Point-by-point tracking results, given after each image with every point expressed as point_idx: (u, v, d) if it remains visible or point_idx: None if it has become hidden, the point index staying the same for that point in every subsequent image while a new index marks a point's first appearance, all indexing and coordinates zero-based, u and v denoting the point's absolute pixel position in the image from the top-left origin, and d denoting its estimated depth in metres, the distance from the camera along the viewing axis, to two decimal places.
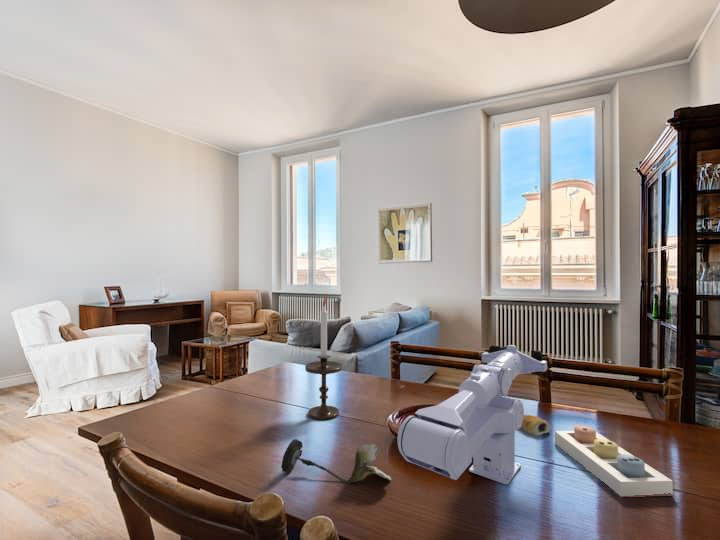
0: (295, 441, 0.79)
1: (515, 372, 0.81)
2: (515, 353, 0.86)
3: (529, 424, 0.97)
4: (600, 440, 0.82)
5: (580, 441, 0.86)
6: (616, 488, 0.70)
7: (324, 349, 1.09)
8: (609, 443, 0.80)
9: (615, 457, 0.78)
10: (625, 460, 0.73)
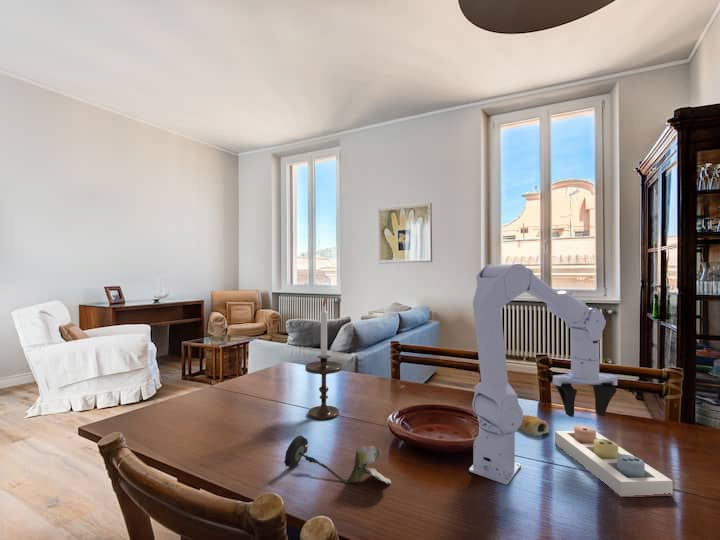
0: (299, 437, 0.81)
1: (595, 351, 0.85)
2: None
3: (528, 424, 0.97)
4: (600, 440, 0.82)
5: (580, 441, 0.86)
6: (616, 488, 0.70)
7: (324, 349, 1.09)
8: (609, 443, 0.80)
9: (615, 457, 0.78)
10: (625, 460, 0.73)
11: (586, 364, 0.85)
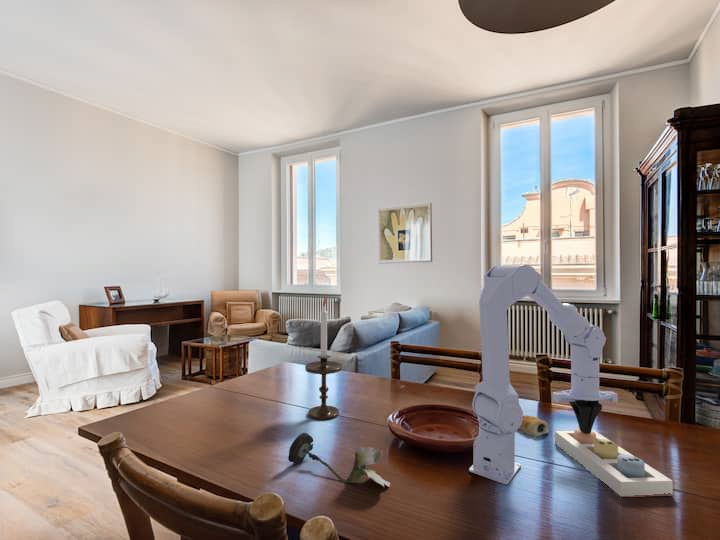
0: (304, 435, 0.82)
1: (595, 369, 0.85)
2: None
3: (528, 425, 0.96)
4: (600, 440, 0.82)
5: None
6: (616, 488, 0.70)
7: (324, 349, 1.09)
8: (609, 443, 0.80)
9: (615, 457, 0.78)
10: (625, 460, 0.73)
11: (586, 381, 0.85)
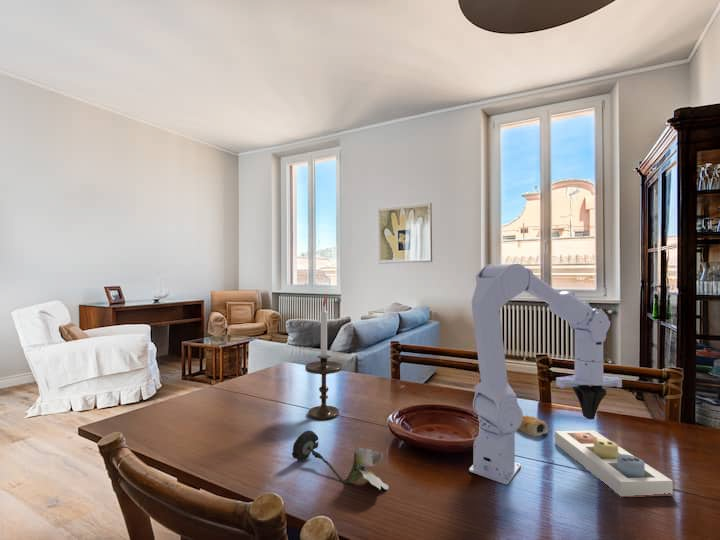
0: (308, 432, 0.83)
1: (599, 353, 0.83)
2: None
3: (527, 425, 0.96)
4: (600, 440, 0.82)
5: None
6: (616, 488, 0.70)
7: (324, 349, 1.09)
8: (609, 443, 0.80)
9: (615, 457, 0.78)
10: (625, 460, 0.73)
11: (590, 366, 0.84)
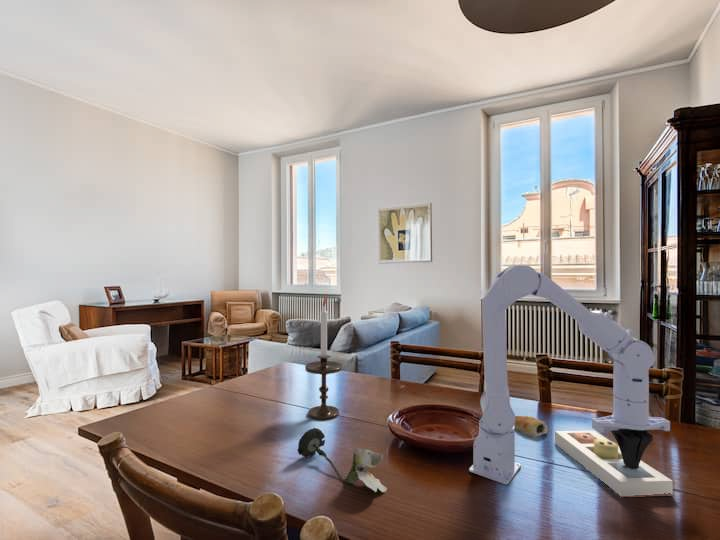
0: (314, 430, 0.84)
1: (637, 392, 0.71)
2: None
3: (527, 425, 0.96)
4: (600, 440, 0.82)
5: None
6: (616, 488, 0.70)
7: (324, 349, 1.09)
8: (609, 443, 0.80)
9: (615, 457, 0.78)
10: (625, 467, 0.73)
11: (634, 407, 0.71)
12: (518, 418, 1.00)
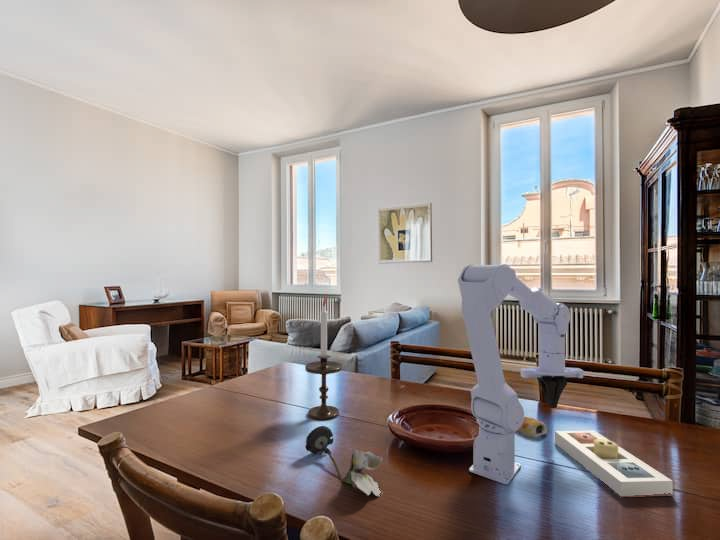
0: (322, 428, 0.86)
1: (563, 345, 0.88)
2: None
3: (526, 426, 0.95)
4: (600, 440, 0.82)
5: None
6: (616, 488, 0.70)
7: (324, 349, 1.09)
8: (609, 443, 0.80)
9: (615, 457, 0.78)
10: (625, 469, 0.73)
11: (552, 357, 0.88)
12: None
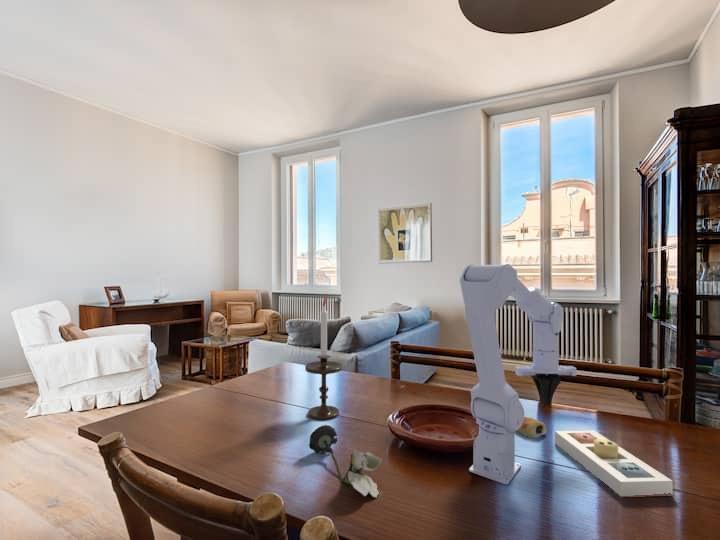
0: (325, 427, 0.86)
1: (557, 343, 0.90)
2: None
3: (526, 426, 0.95)
4: (600, 440, 0.82)
5: None
6: (616, 488, 0.70)
7: (324, 349, 1.09)
8: (609, 443, 0.80)
9: (615, 457, 0.78)
10: (625, 469, 0.73)
11: (545, 355, 0.89)
12: None
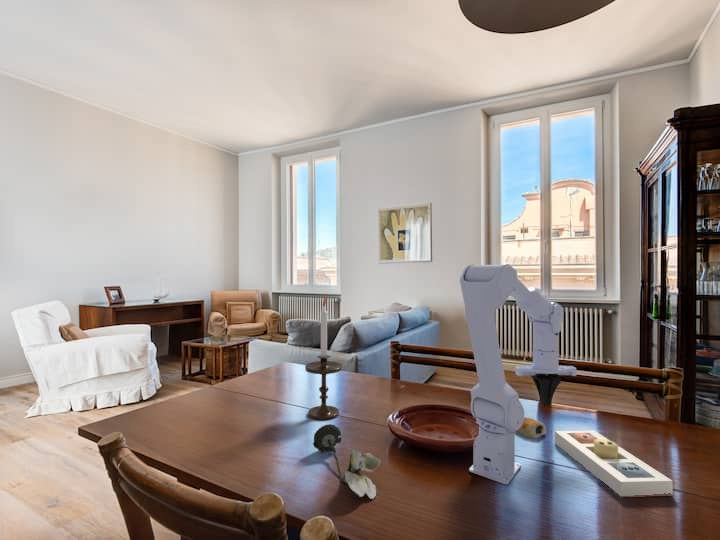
0: (329, 426, 0.87)
1: (557, 343, 0.90)
2: None
3: (526, 427, 0.95)
4: (600, 440, 0.82)
5: None
6: (616, 488, 0.70)
7: (324, 349, 1.09)
8: (609, 443, 0.80)
9: (615, 457, 0.78)
10: (625, 469, 0.73)
11: (545, 355, 0.89)
12: None
